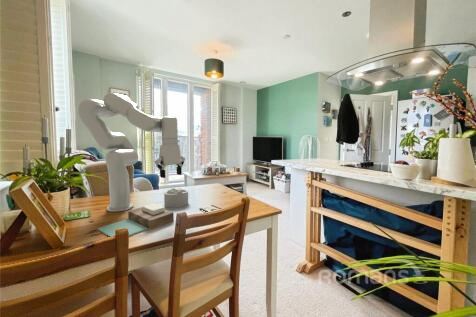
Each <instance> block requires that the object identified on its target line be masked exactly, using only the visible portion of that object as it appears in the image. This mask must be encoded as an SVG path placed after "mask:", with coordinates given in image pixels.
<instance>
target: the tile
mask: <svg viewBox="0 0 476 317" xmlns="http://www.w3.org/2000/svg"><path fill="white" fill-rule="evenodd" d="M141 207H142V210H143V211H145V212H148V213H150V214H152V215H155V214H158V213H161V212H164V211H165V210H166V207H165V206H164V205H160V204H157V203H154V202H153V203H150V204H146V205H142V206H141Z"/></svg>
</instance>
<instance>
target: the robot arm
mask: <svg viewBox="0 0 476 317" xmlns="http://www.w3.org/2000/svg"><path fill="white" fill-rule="evenodd" d="M77 109H78V111H77V113H78V116H79V119H80V121H81V122H82V124H84V126H85V127H86V128H87V129H88V130H89V132H90V134H91V136H92V137H93V139H94V140H95V142H96V143H97V145H98V146H99V148H100V149H101V150H104V151H108V152H107V154H106V156H105V164H106V168H107V172H108V173H107V174H108V190H109V191H108V192H109V193H108V194H109V205H107V207H106V210H107V212H112V213H117V212H118V213H119V212H124V211H130V210H132V209H133V208H134V203H133V202H131V190H130V174H129V171H128V169H127V166H128V167H129V166H133V165H135V164H137V162H138V161H139V155H138V152H137V150H136V149H135V147H134V145H133V144H132V142H131V141H130V139H129V138H128V137H127V136H126V135H125V134H124V133H122V132H113V131H111V129H110V128H109V126H108V125H107V124H106V122H105V121H104V120H102V119H101V118H113V117H115V116H119V115H121V116H123V117H125V118H126V120H127V121H128V122H129V123H130V124H131V125H132V126H135V127H136V128H138V129H141V130H142V131H144V132H149V133H150V132H153V133H154V132H155V133H160V132H161V145H160V147H159V156H158V158H157V159H156V160H154V165H155V166H156V168H158V170H159V175H160V178H162V179H165V178H166V167H167V166H172V165H173V166H174V165H175V166H176V175H179V176H181V175H182V172H183V171H182V169H183V166H184V164H185V161H186V158H185V157H184V156H182V154H181V149H180V145H179V143H180V139H179V132H178V119H177V117H175V116H161V117H160V116H154V115H148V114H146V113H144V112H143V111H141V110H139V105H138V104H137V103H135V102H133V101H132V99H131V98H130V97H129V96H127V95H124V94H121V93H116V92H107V93H106V94H105V95H104V96H103V100H101V99H95V98H94V99H93V98H85V99H83V100H81V101H80V102H79V104H78V108H77ZM100 117H101V118H100Z"/></svg>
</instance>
